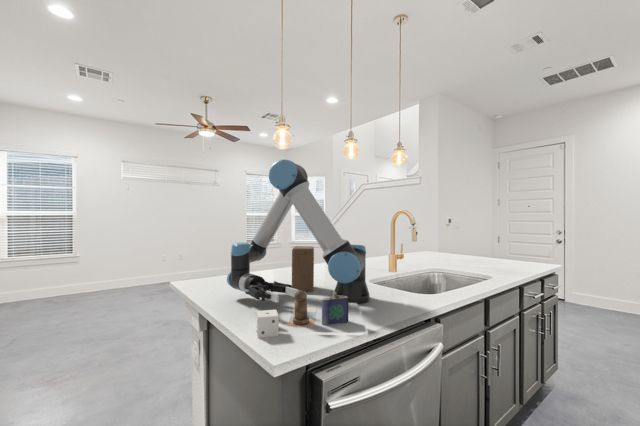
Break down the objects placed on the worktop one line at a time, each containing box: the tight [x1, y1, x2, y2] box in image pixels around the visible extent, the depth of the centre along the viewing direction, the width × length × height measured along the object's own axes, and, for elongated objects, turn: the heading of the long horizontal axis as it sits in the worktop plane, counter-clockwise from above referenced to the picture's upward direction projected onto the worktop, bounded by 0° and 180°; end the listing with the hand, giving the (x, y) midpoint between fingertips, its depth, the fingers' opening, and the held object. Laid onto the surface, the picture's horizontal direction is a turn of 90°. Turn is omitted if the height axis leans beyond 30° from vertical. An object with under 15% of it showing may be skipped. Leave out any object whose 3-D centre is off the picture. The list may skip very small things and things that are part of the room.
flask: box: [321, 290, 350, 326], centre depth 97 cm, size 9×3×11 cm, turn 110°
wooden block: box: [291, 245, 315, 292], centre depth 144 cm, size 10×10×20 cm
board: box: [287, 306, 317, 327], centre depth 103 cm, size 9×20×1 cm, turn 178°
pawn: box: [293, 290, 309, 325], centre depth 97 cm, size 5×5×10 cm
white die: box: [256, 309, 279, 339], centre depth 90 cm, size 6×6×6 cm
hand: (288, 296), depth 102 cm, fingers open, 8 cm apart
